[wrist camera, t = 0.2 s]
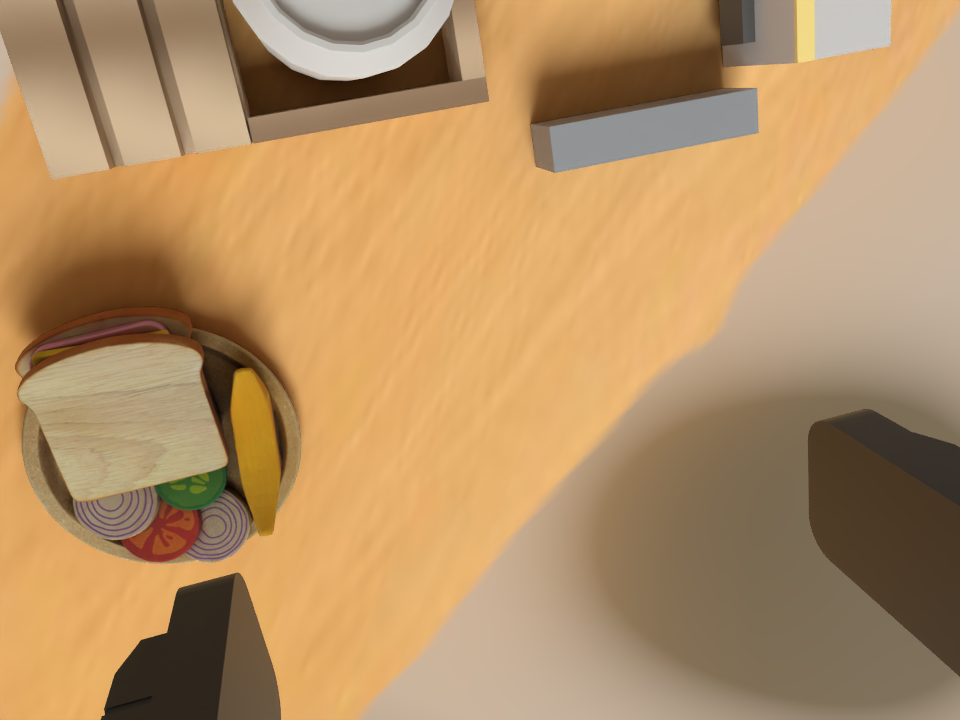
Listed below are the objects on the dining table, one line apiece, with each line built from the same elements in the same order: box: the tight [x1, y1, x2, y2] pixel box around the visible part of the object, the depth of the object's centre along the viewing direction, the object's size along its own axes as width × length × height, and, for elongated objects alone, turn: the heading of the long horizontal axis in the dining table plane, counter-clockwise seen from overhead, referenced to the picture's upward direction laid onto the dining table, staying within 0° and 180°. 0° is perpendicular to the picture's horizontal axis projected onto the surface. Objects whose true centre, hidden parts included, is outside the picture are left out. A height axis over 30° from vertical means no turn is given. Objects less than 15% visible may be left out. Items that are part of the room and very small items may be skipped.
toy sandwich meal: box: [15, 307, 301, 564], centre depth 37 cm, size 12×14×5 cm
